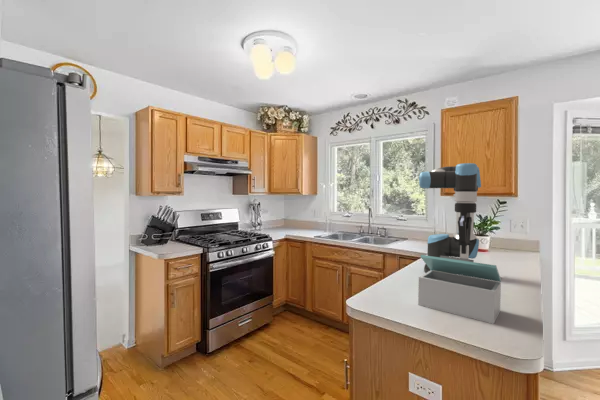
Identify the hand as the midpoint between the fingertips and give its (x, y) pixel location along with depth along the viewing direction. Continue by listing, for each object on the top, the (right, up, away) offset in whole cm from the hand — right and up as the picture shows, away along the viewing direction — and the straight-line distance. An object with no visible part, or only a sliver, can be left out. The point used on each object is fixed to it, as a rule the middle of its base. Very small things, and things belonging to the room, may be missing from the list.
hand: (464, 261), depth 116 cm
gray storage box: (0, -20, +5) cm, 21 cm away
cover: (+1, -4, +5) cm, 6 cm away
